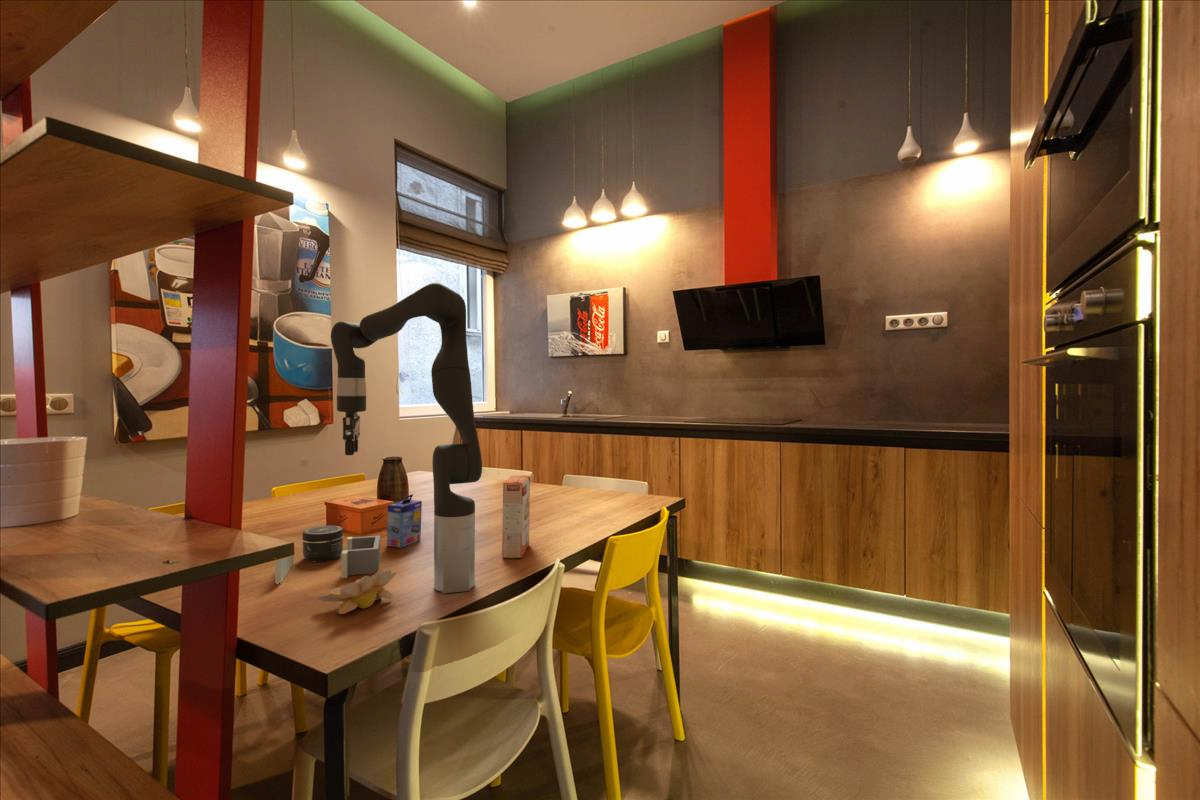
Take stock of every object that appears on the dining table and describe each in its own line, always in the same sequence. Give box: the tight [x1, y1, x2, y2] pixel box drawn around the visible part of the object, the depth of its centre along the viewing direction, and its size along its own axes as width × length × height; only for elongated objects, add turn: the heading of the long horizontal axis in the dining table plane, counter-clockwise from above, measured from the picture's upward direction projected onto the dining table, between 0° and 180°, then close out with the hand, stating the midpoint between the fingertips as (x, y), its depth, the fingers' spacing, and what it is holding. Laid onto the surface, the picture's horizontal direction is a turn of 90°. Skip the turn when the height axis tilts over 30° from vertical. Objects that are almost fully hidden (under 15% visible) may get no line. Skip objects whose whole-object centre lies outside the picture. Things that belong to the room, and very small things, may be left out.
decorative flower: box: [317, 569, 398, 615], centre depth 120 cm, size 15×11×10 cm
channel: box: [274, 535, 381, 585], centre depth 143 cm, size 16×22×6 cm
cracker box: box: [501, 474, 531, 559], centre depth 160 cm, size 14×6×21 cm, turn 179°
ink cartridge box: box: [386, 493, 423, 549], centre depth 168 cm, size 10×6×14 cm, turn 163°
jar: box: [301, 525, 344, 563], centre depth 153 cm, size 10×10×8 cm
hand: (351, 453), depth 157 cm, fingers open, 7 cm apart
